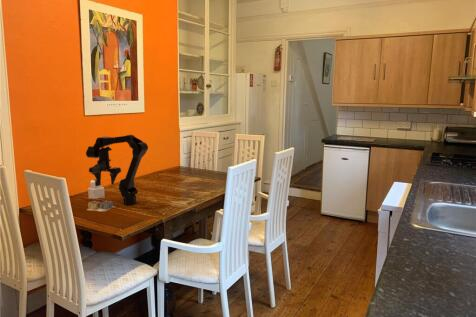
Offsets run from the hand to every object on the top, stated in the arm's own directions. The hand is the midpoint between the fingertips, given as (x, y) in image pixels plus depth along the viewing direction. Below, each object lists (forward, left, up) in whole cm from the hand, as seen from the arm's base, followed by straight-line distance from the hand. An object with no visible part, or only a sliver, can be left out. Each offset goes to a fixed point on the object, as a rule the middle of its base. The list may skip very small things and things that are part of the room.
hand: (105, 184), depth 216 cm
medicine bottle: (+14, -8, -12) cm, 20 cm away
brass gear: (-1, +13, -11) cm, 17 cm away
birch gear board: (-5, +12, -12) cm, 18 cm away
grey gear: (-8, +11, -11) cm, 17 cm away
